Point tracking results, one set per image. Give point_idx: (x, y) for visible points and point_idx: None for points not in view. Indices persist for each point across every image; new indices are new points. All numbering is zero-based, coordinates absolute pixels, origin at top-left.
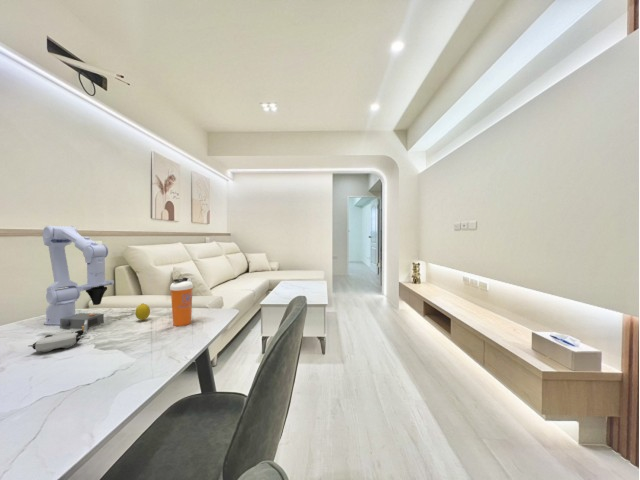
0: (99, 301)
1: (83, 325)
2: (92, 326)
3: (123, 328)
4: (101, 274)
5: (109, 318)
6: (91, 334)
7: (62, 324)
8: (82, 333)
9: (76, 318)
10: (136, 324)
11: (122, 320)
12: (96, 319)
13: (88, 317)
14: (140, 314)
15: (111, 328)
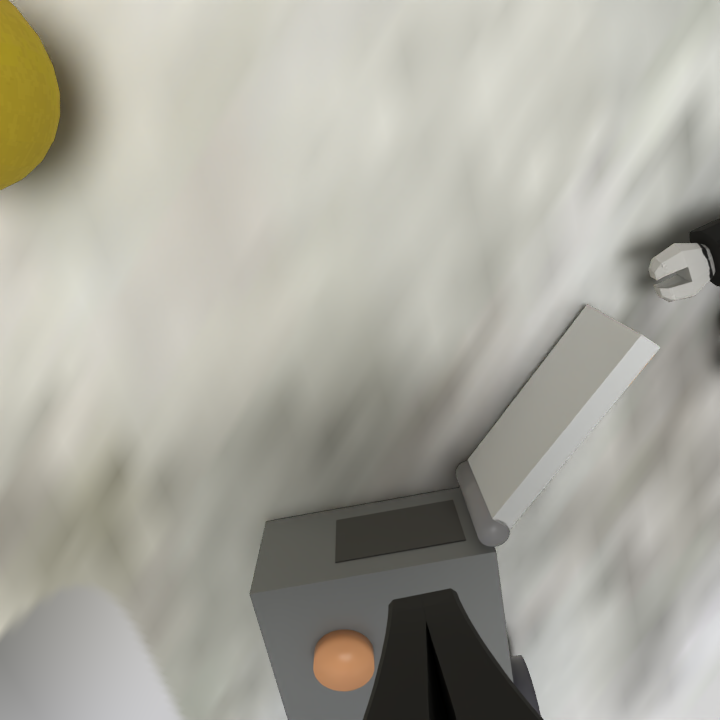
0: (431, 631)
1: None
2: (391, 500)
3: (331, 43)
4: None
5: (149, 606)
6: (583, 234)
7: None
8: (710, 224)
9: None
10: (156, 22)
11: (131, 397)
12: (346, 547)
13: None
14: (12, 9)
15: (376, 216)
